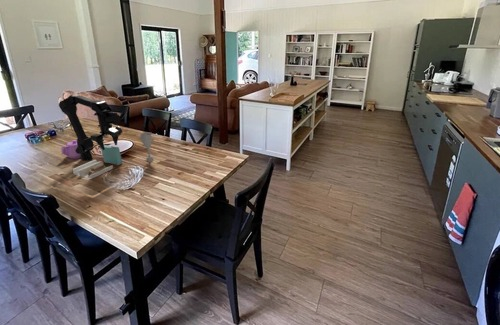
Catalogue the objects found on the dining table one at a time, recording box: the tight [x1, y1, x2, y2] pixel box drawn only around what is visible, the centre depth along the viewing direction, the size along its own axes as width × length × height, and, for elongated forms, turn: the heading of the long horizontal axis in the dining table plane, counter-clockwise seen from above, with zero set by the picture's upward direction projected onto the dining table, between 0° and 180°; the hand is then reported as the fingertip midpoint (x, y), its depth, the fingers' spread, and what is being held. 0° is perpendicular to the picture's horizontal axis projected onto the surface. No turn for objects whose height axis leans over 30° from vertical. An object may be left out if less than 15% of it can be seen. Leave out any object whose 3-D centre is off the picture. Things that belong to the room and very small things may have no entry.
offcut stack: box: [88, 164, 108, 176], centre depth 158 cm, size 5×10×4 cm, turn 157°
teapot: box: [60, 139, 81, 160], centre depth 184 cm, size 13×20×11 cm
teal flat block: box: [100, 144, 123, 166], centre depth 170 cm, size 3×12×11 cm, turn 67°
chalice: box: [139, 131, 155, 163], centre depth 174 cm, size 7×7×18 cm
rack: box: [72, 159, 114, 180], centre depth 159 cm, size 14×15×4 cm
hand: (110, 147), depth 167 cm, fingers open, 9 cm apart
